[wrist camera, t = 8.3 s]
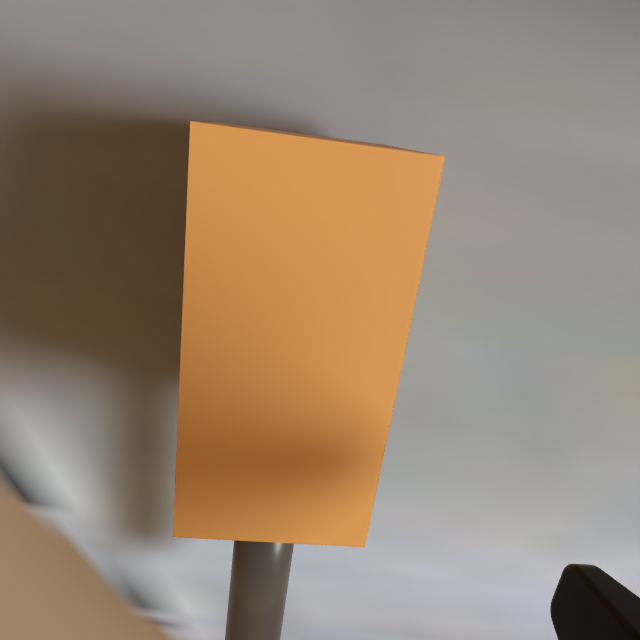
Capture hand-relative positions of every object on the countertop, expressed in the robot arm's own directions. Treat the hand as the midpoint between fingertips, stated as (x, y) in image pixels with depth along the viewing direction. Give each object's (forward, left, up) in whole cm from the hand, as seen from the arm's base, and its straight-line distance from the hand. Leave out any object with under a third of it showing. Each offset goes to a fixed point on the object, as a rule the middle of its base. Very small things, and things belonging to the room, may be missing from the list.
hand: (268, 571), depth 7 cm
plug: (-1, +1, -8) cm, 8 cm away
